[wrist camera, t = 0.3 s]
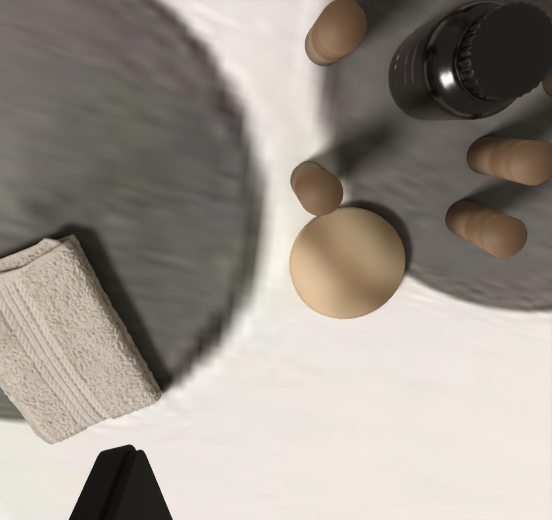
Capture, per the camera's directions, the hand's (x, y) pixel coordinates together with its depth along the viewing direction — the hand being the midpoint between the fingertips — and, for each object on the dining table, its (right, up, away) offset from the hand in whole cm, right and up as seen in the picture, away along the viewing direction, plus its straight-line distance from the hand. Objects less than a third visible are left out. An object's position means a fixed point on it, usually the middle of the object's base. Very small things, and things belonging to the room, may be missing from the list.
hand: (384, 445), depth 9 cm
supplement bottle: (+10, +18, +26) cm, 33 cm away
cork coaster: (+4, +3, +30) cm, 31 cm away
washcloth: (-21, -3, +32) cm, 38 cm away
